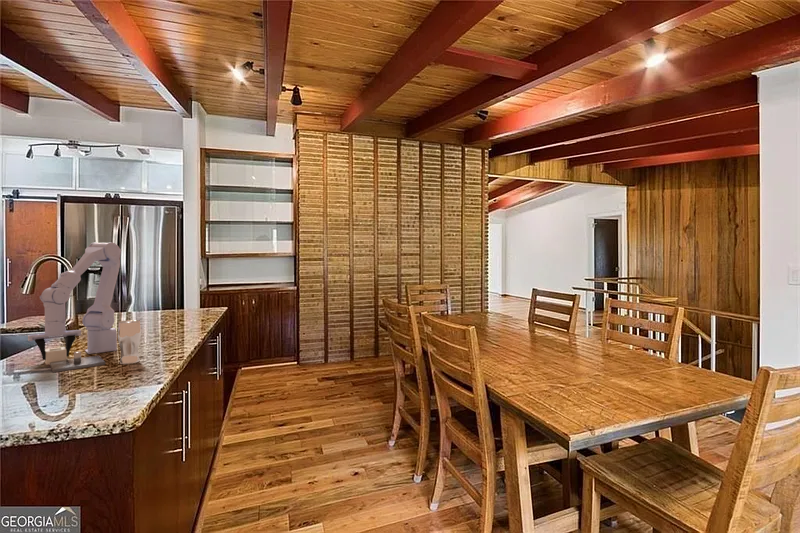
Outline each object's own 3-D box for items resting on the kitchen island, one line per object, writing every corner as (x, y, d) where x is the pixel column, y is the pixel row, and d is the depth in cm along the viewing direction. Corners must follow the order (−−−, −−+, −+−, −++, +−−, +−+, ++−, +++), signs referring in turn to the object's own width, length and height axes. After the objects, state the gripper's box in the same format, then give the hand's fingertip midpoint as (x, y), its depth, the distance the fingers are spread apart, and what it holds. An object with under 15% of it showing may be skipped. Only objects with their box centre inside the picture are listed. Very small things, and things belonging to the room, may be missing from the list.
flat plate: (98, 358, 150) (98, 346, 150) (105, 364, 142) (105, 352, 142) (49, 365, 140) (49, 352, 140) (53, 372, 132) (53, 359, 132)
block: (64, 358, 149) (64, 346, 149) (66, 361, 145) (66, 349, 145) (44, 361, 145) (44, 349, 145) (46, 364, 141) (46, 352, 141)
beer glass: (145, 360, 149) (145, 320, 148) (131, 365, 142) (131, 323, 141) (128, 359, 149) (128, 319, 149) (113, 364, 142) (112, 322, 142)
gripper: (78, 317, 152) (78, 352, 153) (26, 321, 142) (27, 359, 142) (82, 319, 148) (82, 355, 148) (28, 324, 137) (29, 363, 137)
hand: (55, 357), depth 145 cm, fingers closed on block, 6 cm apart
